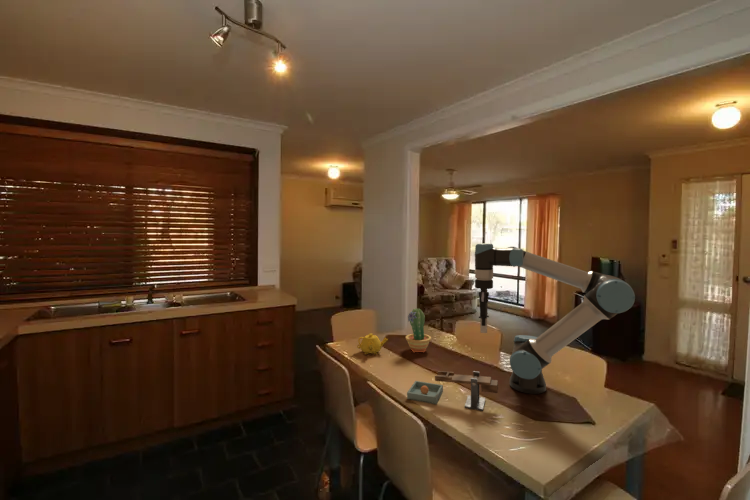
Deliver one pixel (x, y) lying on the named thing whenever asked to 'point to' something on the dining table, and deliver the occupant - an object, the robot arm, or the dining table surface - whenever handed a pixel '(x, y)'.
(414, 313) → the potted cactus
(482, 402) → the stand
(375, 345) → the teapot
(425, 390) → the ball
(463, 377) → the lever
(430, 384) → the dish
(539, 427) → the dining table surface
